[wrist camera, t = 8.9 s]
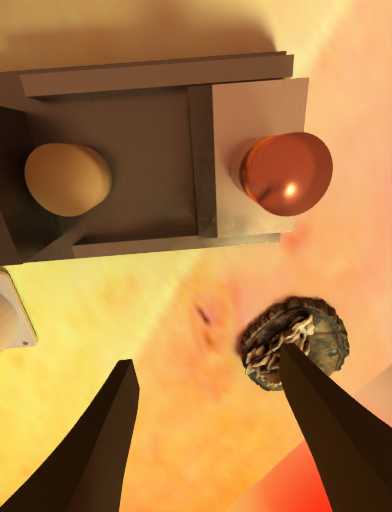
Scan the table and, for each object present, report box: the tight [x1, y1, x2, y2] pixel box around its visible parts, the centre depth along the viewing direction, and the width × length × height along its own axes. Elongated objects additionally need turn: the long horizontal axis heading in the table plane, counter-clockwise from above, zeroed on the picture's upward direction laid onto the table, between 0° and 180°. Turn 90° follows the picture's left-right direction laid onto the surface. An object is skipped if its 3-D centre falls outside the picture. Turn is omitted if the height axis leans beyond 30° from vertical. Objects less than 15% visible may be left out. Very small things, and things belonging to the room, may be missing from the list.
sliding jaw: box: [187, 78, 333, 239], centre depth 13 cm, size 6×8×8 cm
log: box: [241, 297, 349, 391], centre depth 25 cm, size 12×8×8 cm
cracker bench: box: [0, 51, 294, 266], centre depth 15 cm, size 20×12×6 cm, turn 94°
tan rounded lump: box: [25, 143, 112, 216], centre depth 15 cm, size 4×4×3 cm
